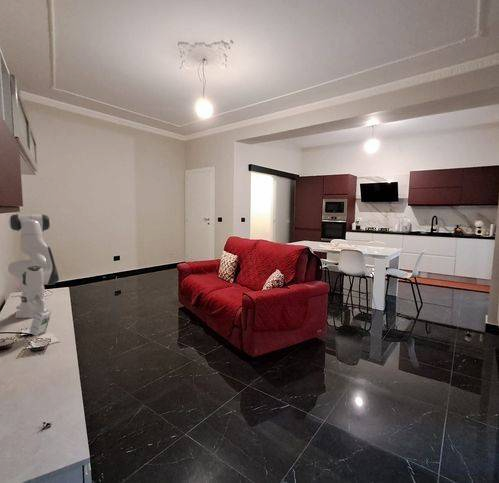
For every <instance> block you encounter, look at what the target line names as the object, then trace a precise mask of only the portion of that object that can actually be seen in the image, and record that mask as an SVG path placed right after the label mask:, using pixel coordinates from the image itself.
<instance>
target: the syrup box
mask: <svg viewBox="0 0 499 483" xmlns="http://www.w3.org/2000/svg"><path fill="white" fill-rule="evenodd" d="M51 314H52V312H51V310H48V309H44V312H42V313H36V312H35V314H34V317H32V318H33V319H32V322H31V325H30V329H29V334H32V335H33V336H38V335H43V334H46V331H47V328H48V325H49V322H50V318H51Z"/></svg>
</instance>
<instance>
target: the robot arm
mask: <svg viewBox="0 0 499 483" xmlns="http://www.w3.org/2000/svg"><path fill="white" fill-rule="evenodd" d="M51 224H52V221H51V218H50V217H49V216H48V215H47V214H37V213H28V214H27V213H26V214H24V213H23V214H17V213H16V214H12V215H11V216H10V217H9V219H8V225H9V227H10V229H12V231H17V232H19V231H20V236H19V239H20V240H19V242H20V252H21V253H22V254H24V255H27V256H28V257H29V258H30V259H17V260H12V261H11V262H10V263H9V264H8V267H7V270H8V271H7V272H8V273H9V274H11V275H12V276H13V277H15V278H16V279H17V280H18V282H19V283H20V286H21V297H20V299H21V300H20V303H19V305H16V310H15V318H16V319H29V318H31V319H32V318H34V314H35V312H36V313H42V312H44V309H46V301H45V300H44V298H43V297H45V285H47V286H49V285H50V286H51V285H55V284H56V283H58V282H59V280H60V274H59V272H58V269H57V266H56V262H55V260H54V256H53V253H52V249H51V247H50V245H49V244H48V243H46V242H45V240H44V239H43V232H44V231H47V230H49V229H50V227H51V226H52V225H51Z"/></svg>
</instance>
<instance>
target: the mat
mask: <svg viewBox="0 0 499 483" xmlns="http://www.w3.org/2000/svg"><path fill="white" fill-rule="evenodd" d="M36 338H51V342H50V343H49V344H50V345H53V344H56V343H57V344H58V343H61V340H59V338H57V337H56V336H55V335H54V334H53V333H52V332H47V333H44V334H41V335H38V336H35V335H33V336H30V337H26V338H25V339H26V341H27V342H28V343H29V342H30V341H31V340H33V339H36Z"/></svg>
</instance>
